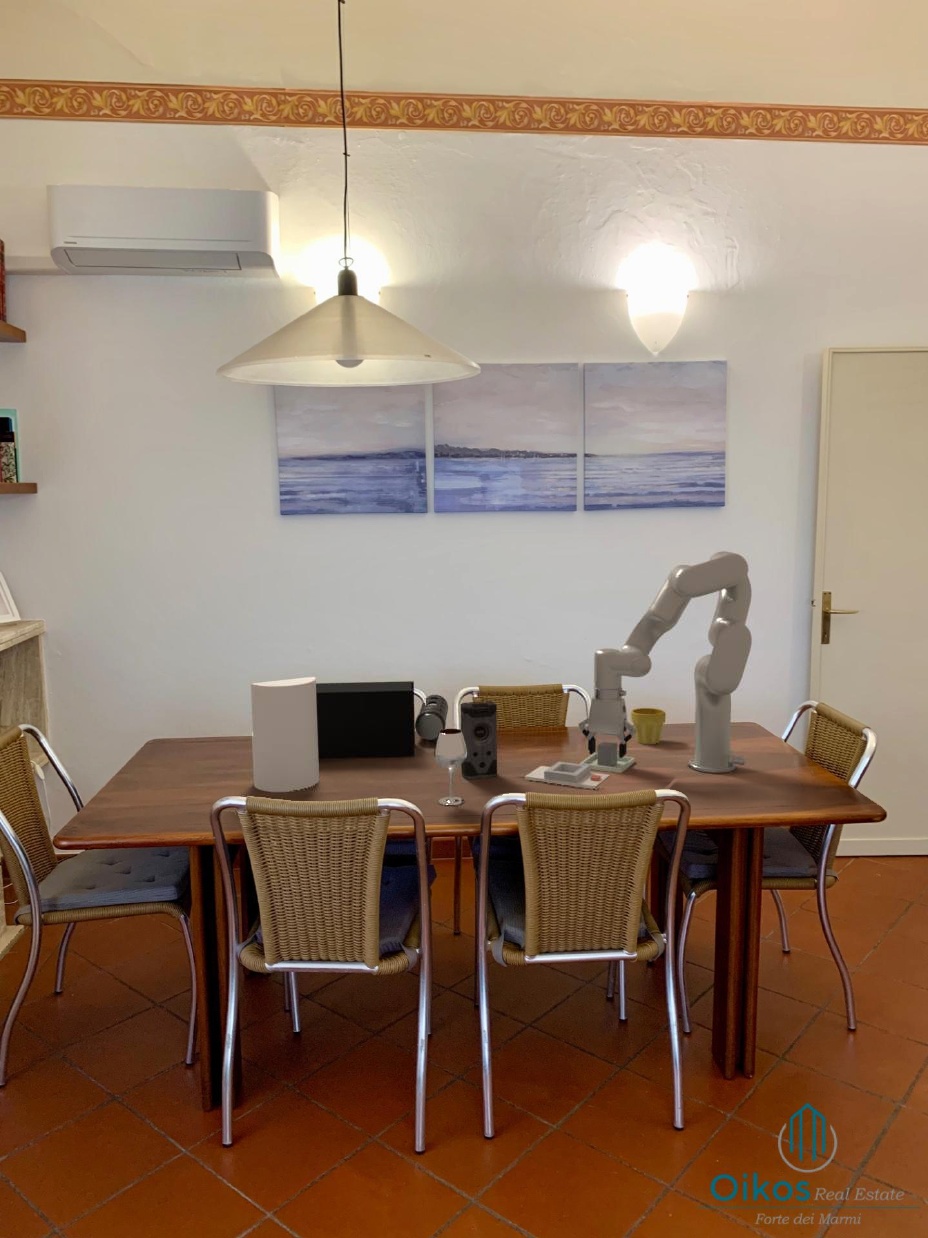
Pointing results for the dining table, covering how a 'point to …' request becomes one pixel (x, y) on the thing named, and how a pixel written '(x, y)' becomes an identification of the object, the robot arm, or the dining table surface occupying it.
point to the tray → (618, 768)
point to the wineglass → (450, 757)
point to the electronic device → (479, 739)
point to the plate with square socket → (567, 775)
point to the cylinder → (285, 734)
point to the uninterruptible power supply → (365, 719)
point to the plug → (607, 754)
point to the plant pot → (648, 724)
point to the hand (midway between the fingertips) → (607, 754)
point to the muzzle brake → (431, 717)
